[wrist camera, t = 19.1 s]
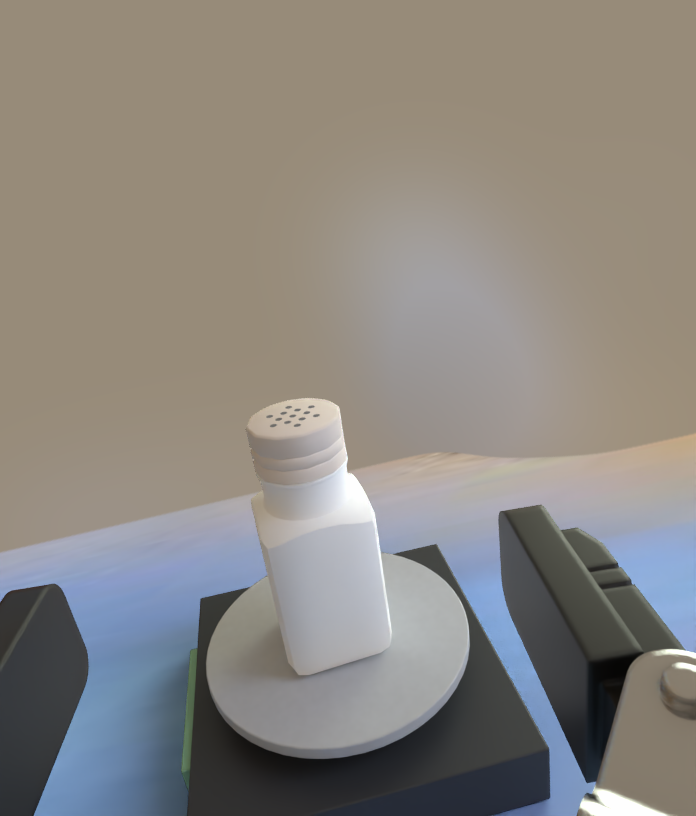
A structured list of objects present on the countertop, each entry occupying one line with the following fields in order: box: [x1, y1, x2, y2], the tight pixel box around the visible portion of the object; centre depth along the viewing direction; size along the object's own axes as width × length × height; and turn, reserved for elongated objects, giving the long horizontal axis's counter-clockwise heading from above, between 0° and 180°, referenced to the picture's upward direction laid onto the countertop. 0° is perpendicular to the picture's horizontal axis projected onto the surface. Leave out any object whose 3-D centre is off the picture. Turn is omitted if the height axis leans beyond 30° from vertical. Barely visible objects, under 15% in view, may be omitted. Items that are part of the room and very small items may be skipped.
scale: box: [181, 544, 550, 816], centre depth 25 cm, size 12×12×4 cm
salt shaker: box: [246, 398, 392, 675], centre depth 22 cm, size 4×4×10 cm
